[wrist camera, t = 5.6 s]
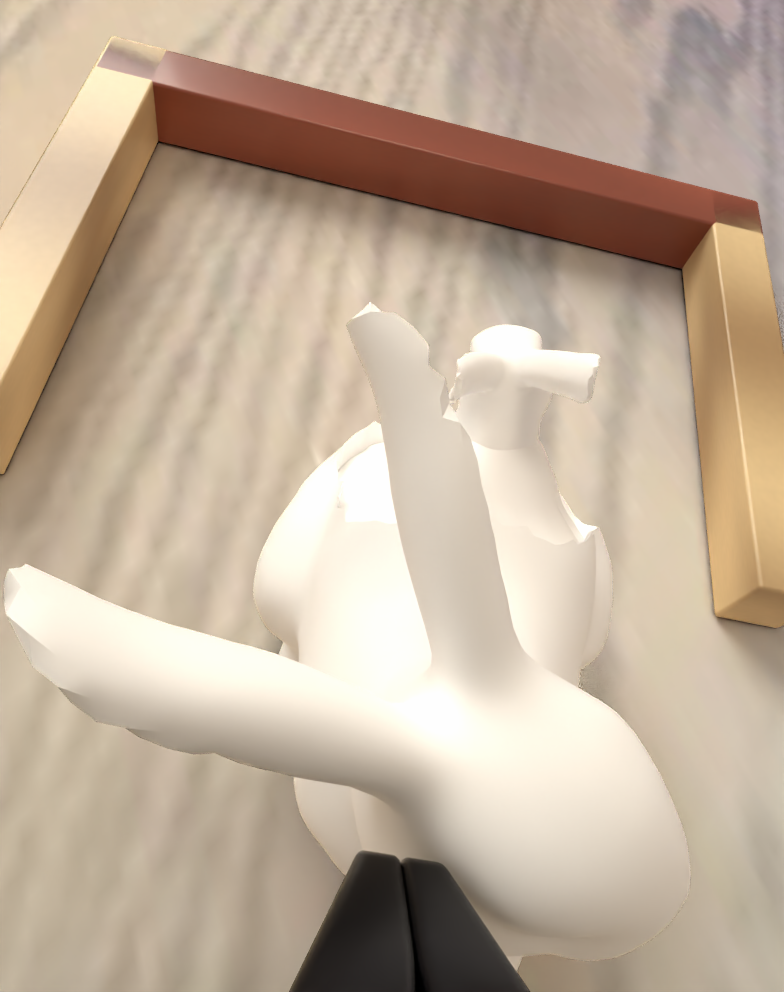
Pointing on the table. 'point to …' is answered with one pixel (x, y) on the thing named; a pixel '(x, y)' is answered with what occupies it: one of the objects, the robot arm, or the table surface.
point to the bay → (433, 183)
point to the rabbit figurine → (419, 657)
